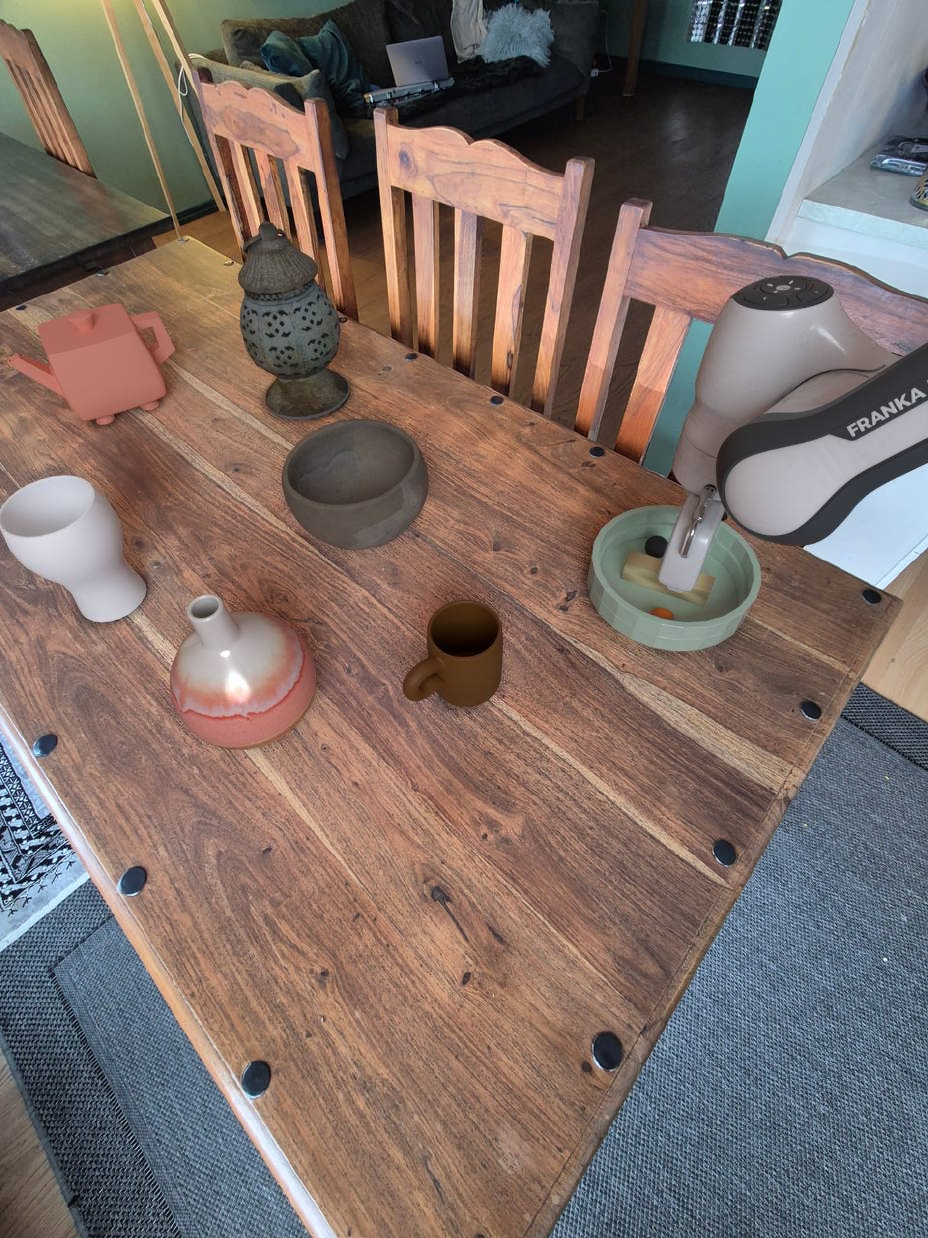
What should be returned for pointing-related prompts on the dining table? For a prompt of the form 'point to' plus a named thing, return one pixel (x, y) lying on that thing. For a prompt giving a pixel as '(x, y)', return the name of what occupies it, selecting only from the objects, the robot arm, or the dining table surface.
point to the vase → (240, 676)
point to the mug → (459, 656)
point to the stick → (646, 574)
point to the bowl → (355, 483)
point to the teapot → (101, 361)
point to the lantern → (290, 327)
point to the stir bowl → (634, 603)
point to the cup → (73, 544)
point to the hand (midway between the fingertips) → (688, 558)
